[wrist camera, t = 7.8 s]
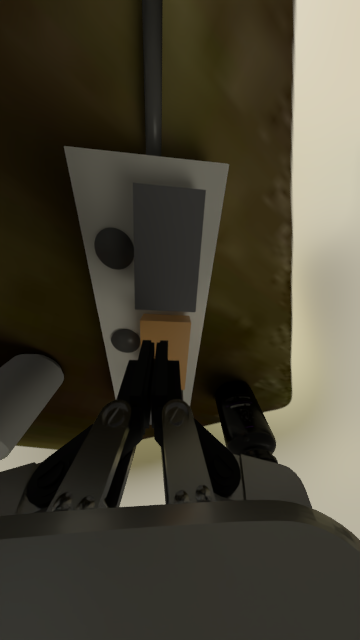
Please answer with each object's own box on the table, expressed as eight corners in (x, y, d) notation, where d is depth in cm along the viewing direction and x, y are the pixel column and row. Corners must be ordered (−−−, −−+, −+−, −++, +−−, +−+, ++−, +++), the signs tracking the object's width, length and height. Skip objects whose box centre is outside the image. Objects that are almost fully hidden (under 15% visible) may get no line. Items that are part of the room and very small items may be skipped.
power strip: (65, -3, 10) (-10, -169, 6) (237, 25, 10) (276, -105, 6) (126, 395, 29) (118, 422, 24) (186, 396, 29) (188, 422, 25)
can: (62, 352, 23) (-29, 450, 13) (70, 386, 27) (4, 483, 16) (7, 346, 22) (-140, 446, 12) (23, 382, 26) (-80, 482, 15)
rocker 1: (138, 197, 11) (132, 182, 10) (200, 203, 12) (205, 189, 10) (139, 305, 13) (134, 309, 12) (192, 307, 14) (195, 312, 12)
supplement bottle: (234, 374, 27) (274, 464, 16) (257, 390, 29) (304, 478, 19) (206, 394, 29) (224, 484, 19) (229, 407, 32) (257, 494, 21)
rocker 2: (143, 313, 15) (139, 320, 14) (189, 315, 16) (191, 322, 14) (144, 377, 18) (142, 389, 17) (183, 378, 19) (184, 390, 17)
